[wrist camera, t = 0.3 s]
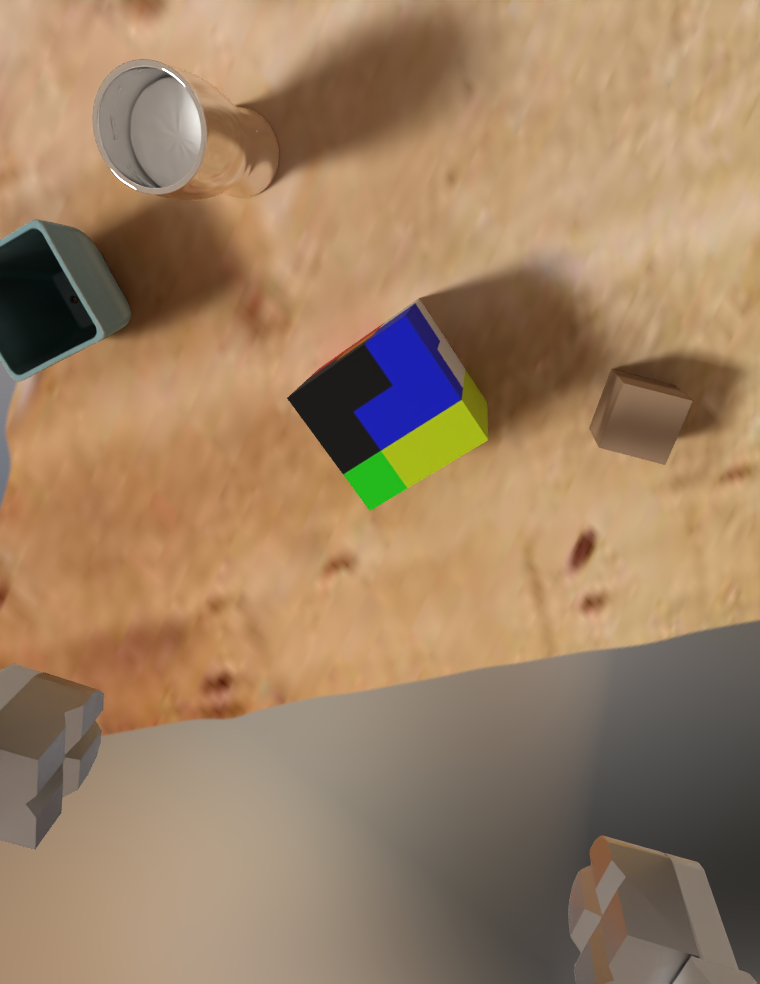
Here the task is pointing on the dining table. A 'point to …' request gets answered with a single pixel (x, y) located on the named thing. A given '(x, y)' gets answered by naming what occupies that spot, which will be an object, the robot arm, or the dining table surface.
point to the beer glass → (180, 135)
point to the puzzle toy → (394, 406)
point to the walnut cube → (639, 416)
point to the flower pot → (53, 297)
